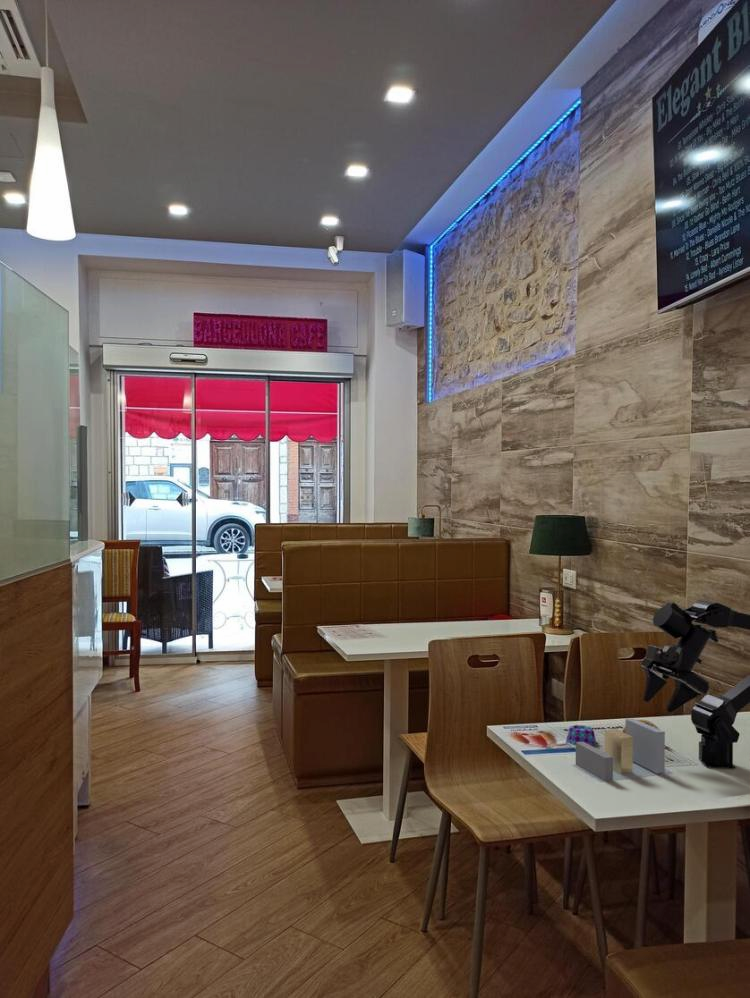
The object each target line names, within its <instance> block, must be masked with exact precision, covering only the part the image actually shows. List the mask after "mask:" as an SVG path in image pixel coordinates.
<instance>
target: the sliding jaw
mask: <svg viewBox="0 0 750 998" xmlns="http://www.w3.org/2000/svg"><path fill="white" fill-rule="evenodd" d="M638 720H639V719H638ZM638 720H637V719H635V718H633V717H631V718H625V726H626V733H625V734H628V735H630V736H632V737H633V762H635V763H637V764H639V765H641V766H643V767H645V768H647V769H649V770H651V771H653V772H655V773H657V774H658V773H665V769H666V768H665V767H666V766H665V765H666V763H665V762H666V761H665V760H666V759H665V757H666V755H665V753H666V752H665V750H666V746H665V745H666V744H665V742H666V741H665V740H666V733H665V732H666V731H664V730H661V729H660V728H659V729H660V730H659V729H657V728H655V727H652V726H650V725H647V724H645V723H643V722H640V721H638Z"/></svg>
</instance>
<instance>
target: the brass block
mask: <svg viewBox="0 0 750 998" xmlns="http://www.w3.org/2000/svg"><path fill="white" fill-rule="evenodd" d="M604 753H606V754H608V755H610V756H612V757H613V770H614V771H616V772H617V773H619V774H621V775H622V774H630V773H633V737H632V736H630V735H628V734H625V733H623V731H622V730H621V731H620V730H618V729H616V728H615V729H606V730H605V729H604Z"/></svg>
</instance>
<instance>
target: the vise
mask: <svg viewBox="0 0 750 998" xmlns="http://www.w3.org/2000/svg"><path fill="white" fill-rule="evenodd" d="M571 766H573V767H575V768H576V769H577V770H579V771H581V772H583V773H585V774H586V775H588V776H590V777H591V778H593V779H595V780H596V781H598V782H600V783H606V782H613V781H620V780H630V779H636V778H637V779H638V778H645V777H653V776H661V775H662V776H663V775H669V774H674V772H673V771H671V770H669V769H666V768H665V773H658V774H657V773H655V772H653V771H651V770H649V769H647V768H645V767H643V766H641V765H639V764H637V763H635V762H633V773H630V774H622V775H621V774H619V773H617V772H616V771H614V770H613V757H612V756H610V755H608V754H606V753H605V751H603V750H599V749H598V748H596V747H594V746H590V745H589V744H587V743H585V742H576V745H575V764H571Z"/></svg>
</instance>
